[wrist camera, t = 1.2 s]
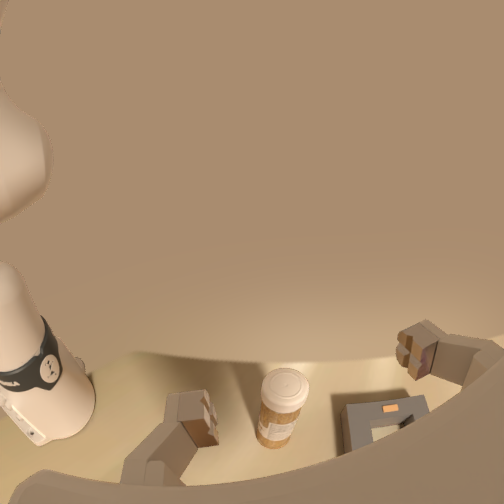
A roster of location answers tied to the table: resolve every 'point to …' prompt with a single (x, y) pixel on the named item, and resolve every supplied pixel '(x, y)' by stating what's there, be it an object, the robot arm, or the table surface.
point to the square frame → (378, 418)
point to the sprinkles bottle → (280, 406)
